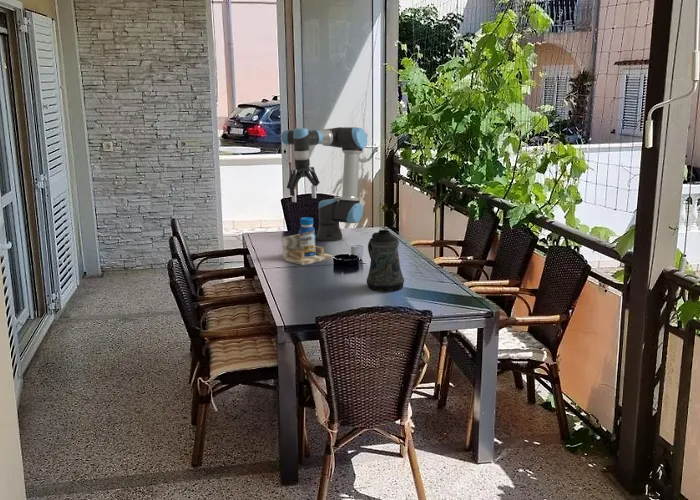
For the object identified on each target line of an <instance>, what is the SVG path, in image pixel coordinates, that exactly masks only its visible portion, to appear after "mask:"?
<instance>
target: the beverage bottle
mask: <svg viewBox="0 0 700 500" xmlns="http://www.w3.org/2000/svg"><path fill="white" fill-rule="evenodd" d="M299 222H300V224H299V225H300V226H299V231H298V234H300V235H299V239H300V251H303V252H304V258H311V257H315V256H316V250H315V246H316V238H317V235H316V234H315V233H316V230H315V229H316V228H315V227H314V226H313V225H314V218H313V217H310V216H306V217H305V216H304V217H301V218H299Z"/></svg>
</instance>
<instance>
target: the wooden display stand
mask: <svg viewBox="0 0 700 500" xmlns="http://www.w3.org/2000/svg"><path fill="white" fill-rule="evenodd" d="M299 235H300V233H297V234H292V235H288V236H287V235H286V236H282V237H281V241H282V242H281V243H282V260H283V261H286V262H289V263H292V264H297V265H300V266H305V265H309V264H313V263H317V262H318V261H319V262H321V261H322V260H323V261H326V259H327V260H331V259H333V254H329V253H325V249H324V248H325V247H323V246H318V245H315V250H316V256H315V257H311V258H304V252H303V251H300V239H299ZM330 258H331V259H330ZM323 261H322V262H323ZM319 262H318V263H319Z"/></svg>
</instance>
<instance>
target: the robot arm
mask: <svg viewBox="0 0 700 500" xmlns="http://www.w3.org/2000/svg"><path fill="white" fill-rule="evenodd" d="M280 136H281V137H280V138H281V142H282V143H283V144H284V145H289V146H290V145H291V146H293V147H294V149H293V151H294V159H295V160H294V165H295V169H290V175H289V179H288V181H287V185H286V188H287V189H288V190H289V191H290V196H291V202H292V203H297V190H296V187H297V185H298V183H299V182H300V179H302V178H306V179H308V180H309V183H311V188H310V189H311V198H312V199H317V192H318V188H317V186H319V184H320V183H321V182H320V180H319V177H318V176H317V173H316V171H315V167H314V166H310V165H311V162H310V161H311V160H310V159H309V158H310V146H317V145H322V146H324V147H333V148H339V149H341V151H342V153H343V154H344V156H343V157H344V159H343V175H342V190H341V191H342V192H341V193H342V194H341V196H340V198H330V199H329V198H328V199H323V200H320V201H319V202H318V209H317V210H318V229H317V233H316V240H318V241H323V242H334V241H340V240H342V239H343V233H342V230H341V227H340V223H345V224H357V223H358V222H360V220H361V219H362V217H363V213H364V207H363V205H362V203H360V201H361V200H360V199H359V197H358V185H359V173H360V171H359V169H360V157H361V154H362V153H363V150H364V149H365V148H367V144H368V136H367V133H366V131H365V130H364V129H363V128H362V127H356V126H355V127H354V126H352V127H349V126H348V127H346V126H345V127H343V126H342V127H341V126H340V127H332V128H331V127H330V128H324V129H322V130H319V129H312V130H309V129H308V128H307V127H299V128H298V127H297V128H294V129H292V130H291V129H286V130H284V131H283V132H282V133H281V135H280Z"/></svg>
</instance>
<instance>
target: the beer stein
mask: <svg viewBox="0 0 700 500" xmlns="http://www.w3.org/2000/svg"><path fill="white" fill-rule="evenodd" d="M398 246H400V241H399V240H398V238H397V237H396V236H394V235H393V234H391V233H390V231H389V230H387V229H380V230H378V232H374V233H372V235H371V237H370V238H369V242H368V243H367V251H368V255H369V258H370V264H369V270H368V274H367V278H366V285H367V288H368V290H370V291H374V292H378V293H391V292H397V291H402V289H403V288H404V283H405V278H404V275H403V272H402V269H401V263H400V257H399V248H398Z"/></svg>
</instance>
